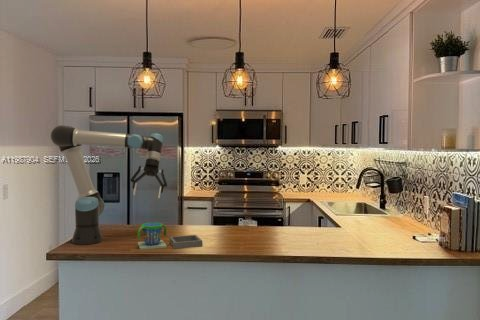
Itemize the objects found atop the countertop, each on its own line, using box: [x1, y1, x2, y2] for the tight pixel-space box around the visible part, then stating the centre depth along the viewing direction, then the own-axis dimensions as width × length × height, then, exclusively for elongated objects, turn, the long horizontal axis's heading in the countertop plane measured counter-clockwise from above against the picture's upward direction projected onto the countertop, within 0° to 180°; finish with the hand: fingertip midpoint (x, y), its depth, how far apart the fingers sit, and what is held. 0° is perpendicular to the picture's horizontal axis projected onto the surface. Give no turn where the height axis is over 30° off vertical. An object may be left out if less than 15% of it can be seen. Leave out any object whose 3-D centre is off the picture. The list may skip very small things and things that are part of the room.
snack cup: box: [136, 222, 168, 245], centre depth 211 cm, size 16×10×10 cm
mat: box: [137, 239, 167, 251], centre depth 211 cm, size 13×13×1 cm
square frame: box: [169, 234, 203, 250], centre depth 214 cm, size 14×14×3 cm
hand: (146, 196), depth 228 cm, fingers open, 13 cm apart
